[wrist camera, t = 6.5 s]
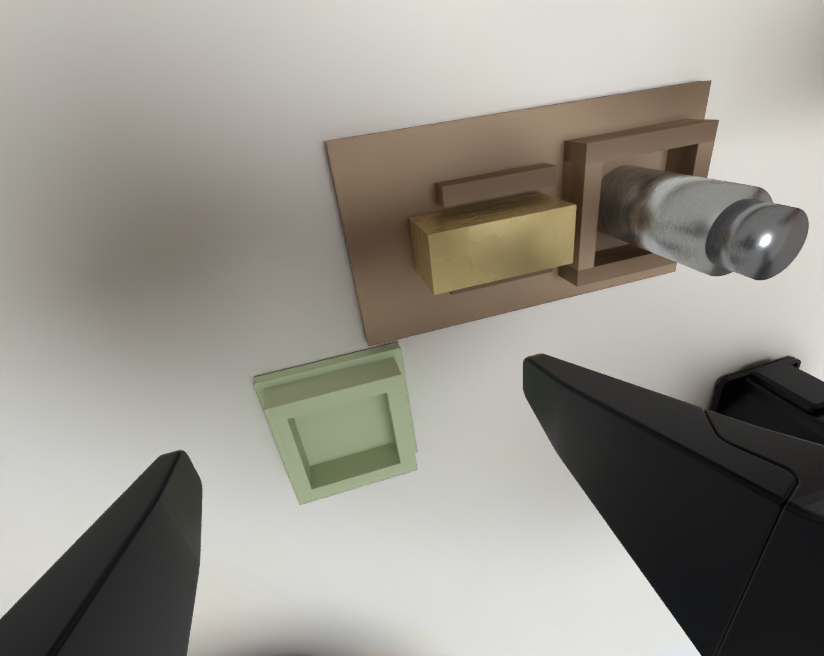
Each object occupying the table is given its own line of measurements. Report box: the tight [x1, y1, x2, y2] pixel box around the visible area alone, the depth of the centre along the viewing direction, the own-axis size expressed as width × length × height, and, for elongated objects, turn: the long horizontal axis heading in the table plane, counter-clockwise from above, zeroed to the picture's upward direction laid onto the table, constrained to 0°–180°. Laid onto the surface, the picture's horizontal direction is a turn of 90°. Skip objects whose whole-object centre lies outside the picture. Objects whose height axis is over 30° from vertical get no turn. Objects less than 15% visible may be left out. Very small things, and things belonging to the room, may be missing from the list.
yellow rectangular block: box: [408, 192, 576, 295], centre depth 18 cm, size 2×6×3 cm, turn 98°
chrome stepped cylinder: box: [597, 165, 809, 280], centre depth 17 cm, size 3×3×8 cm
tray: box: [254, 342, 417, 505], centre depth 21 cm, size 7×7×2 cm
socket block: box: [325, 81, 719, 346], centre depth 19 cm, size 9×17×2 cm, turn 97°
